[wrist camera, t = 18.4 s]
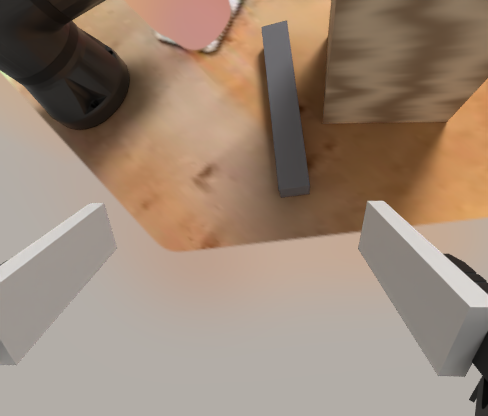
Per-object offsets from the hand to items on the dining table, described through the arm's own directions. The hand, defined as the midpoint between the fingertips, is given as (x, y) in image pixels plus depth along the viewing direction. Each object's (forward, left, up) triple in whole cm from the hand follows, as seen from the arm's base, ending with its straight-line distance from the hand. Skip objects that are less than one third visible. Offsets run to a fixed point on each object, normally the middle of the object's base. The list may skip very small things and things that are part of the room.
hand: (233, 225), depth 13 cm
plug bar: (-1, +19, -19) cm, 27 cm away
